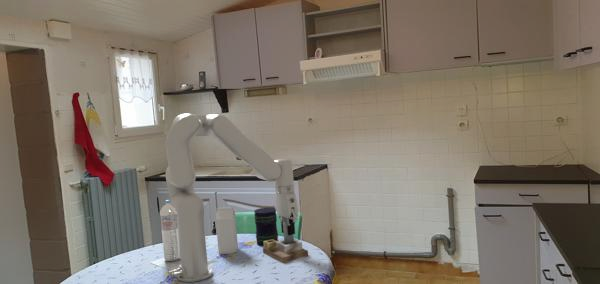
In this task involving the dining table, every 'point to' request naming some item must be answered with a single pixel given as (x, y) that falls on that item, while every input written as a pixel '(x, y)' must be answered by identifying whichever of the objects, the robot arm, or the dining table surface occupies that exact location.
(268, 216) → the storage jar
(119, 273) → the dining table surface
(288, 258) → the manifold board
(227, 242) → the milk carton
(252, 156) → the robot arm
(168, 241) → the water bottle
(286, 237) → the cylinder
